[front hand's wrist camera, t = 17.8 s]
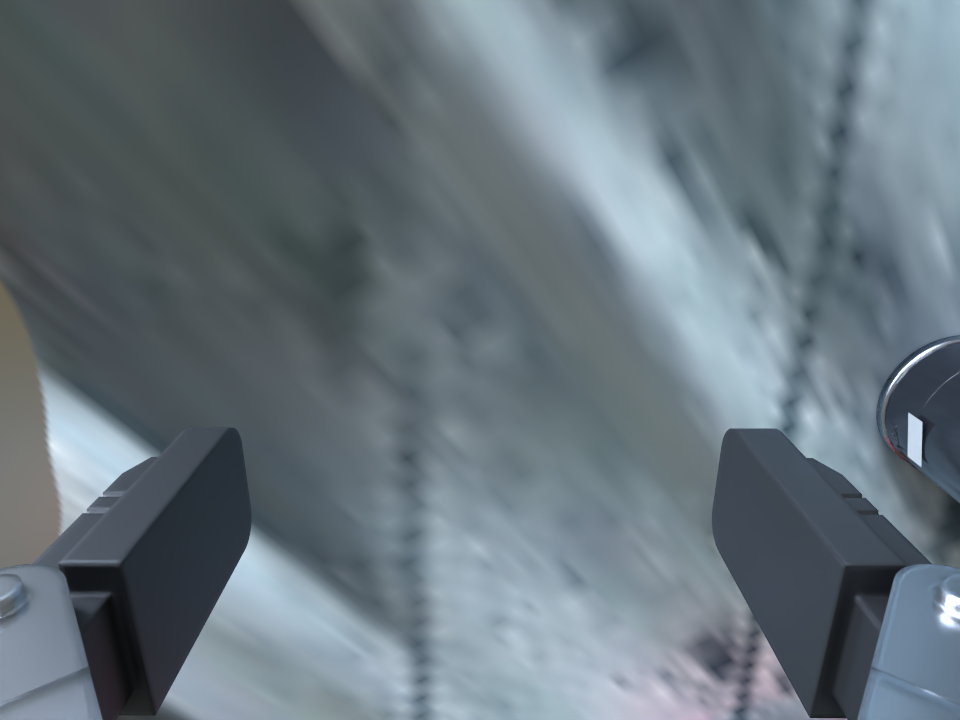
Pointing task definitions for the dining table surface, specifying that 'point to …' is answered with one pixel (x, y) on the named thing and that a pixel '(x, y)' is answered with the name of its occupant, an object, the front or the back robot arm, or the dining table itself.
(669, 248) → the dining table surface
